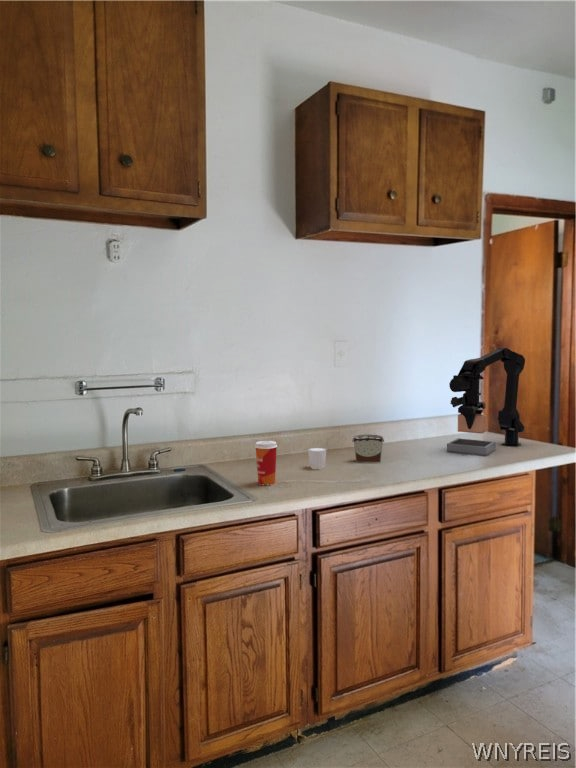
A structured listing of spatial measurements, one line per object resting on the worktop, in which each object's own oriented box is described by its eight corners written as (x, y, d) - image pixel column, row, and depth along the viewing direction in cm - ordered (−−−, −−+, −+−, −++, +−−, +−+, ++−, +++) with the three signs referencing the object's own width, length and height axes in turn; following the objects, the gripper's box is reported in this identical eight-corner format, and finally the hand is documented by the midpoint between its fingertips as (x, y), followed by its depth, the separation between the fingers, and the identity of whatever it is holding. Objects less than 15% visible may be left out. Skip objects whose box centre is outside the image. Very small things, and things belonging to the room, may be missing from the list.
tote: (462, 429, 245) (462, 413, 244) (486, 431, 239) (486, 414, 239) (457, 431, 240) (457, 414, 239) (481, 433, 234) (482, 416, 234)
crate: (457, 446, 251) (457, 438, 250) (495, 450, 242) (495, 441, 241) (446, 452, 239) (447, 443, 239) (486, 456, 230) (486, 447, 230)
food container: (383, 459, 228) (383, 434, 227) (384, 462, 222) (384, 437, 221) (352, 458, 229) (351, 434, 228) (352, 462, 223) (352, 436, 222)
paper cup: (255, 480, 197) (254, 440, 196) (277, 480, 198) (276, 440, 197) (255, 487, 189) (254, 445, 188) (278, 486, 190) (278, 444, 189)
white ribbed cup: (328, 466, 217) (328, 448, 216) (323, 470, 211) (323, 451, 210) (311, 465, 219) (311, 447, 219) (306, 469, 213) (305, 450, 212)
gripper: (460, 387, 250) (459, 423, 252) (445, 391, 235) (445, 429, 236) (486, 388, 244) (485, 425, 245) (473, 393, 229) (472, 432, 230)
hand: (471, 427), depth 240 cm, fingers closed on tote, 6 cm apart
